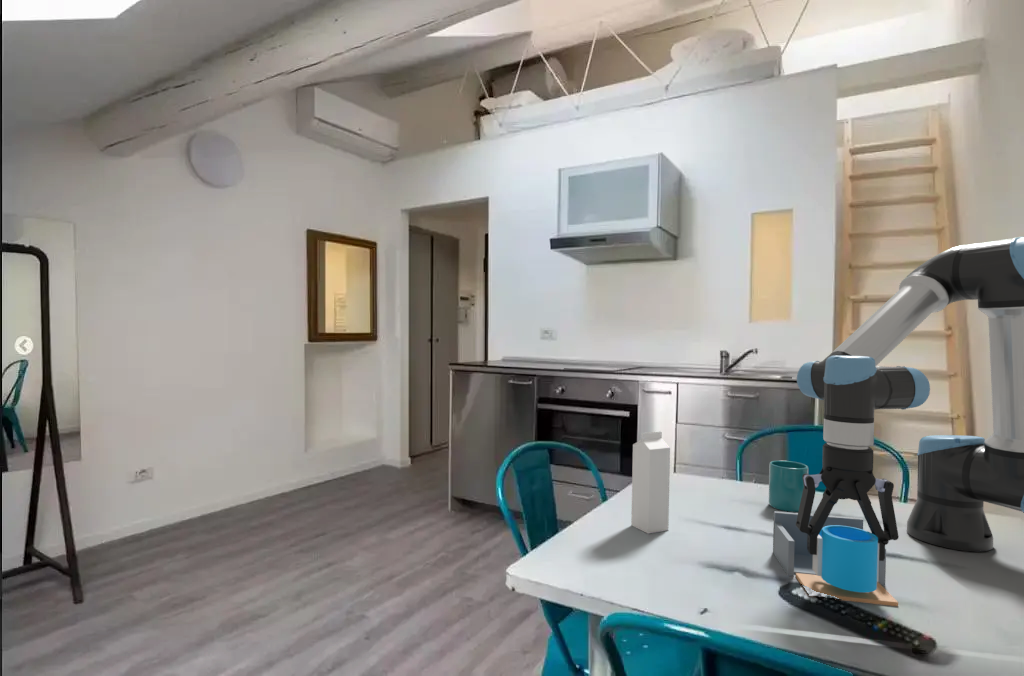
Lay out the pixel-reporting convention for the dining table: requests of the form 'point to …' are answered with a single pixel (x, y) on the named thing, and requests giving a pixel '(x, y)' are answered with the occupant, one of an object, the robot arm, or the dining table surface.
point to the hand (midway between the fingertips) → (844, 575)
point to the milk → (650, 483)
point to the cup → (786, 485)
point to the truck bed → (805, 543)
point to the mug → (849, 558)
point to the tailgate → (847, 591)
